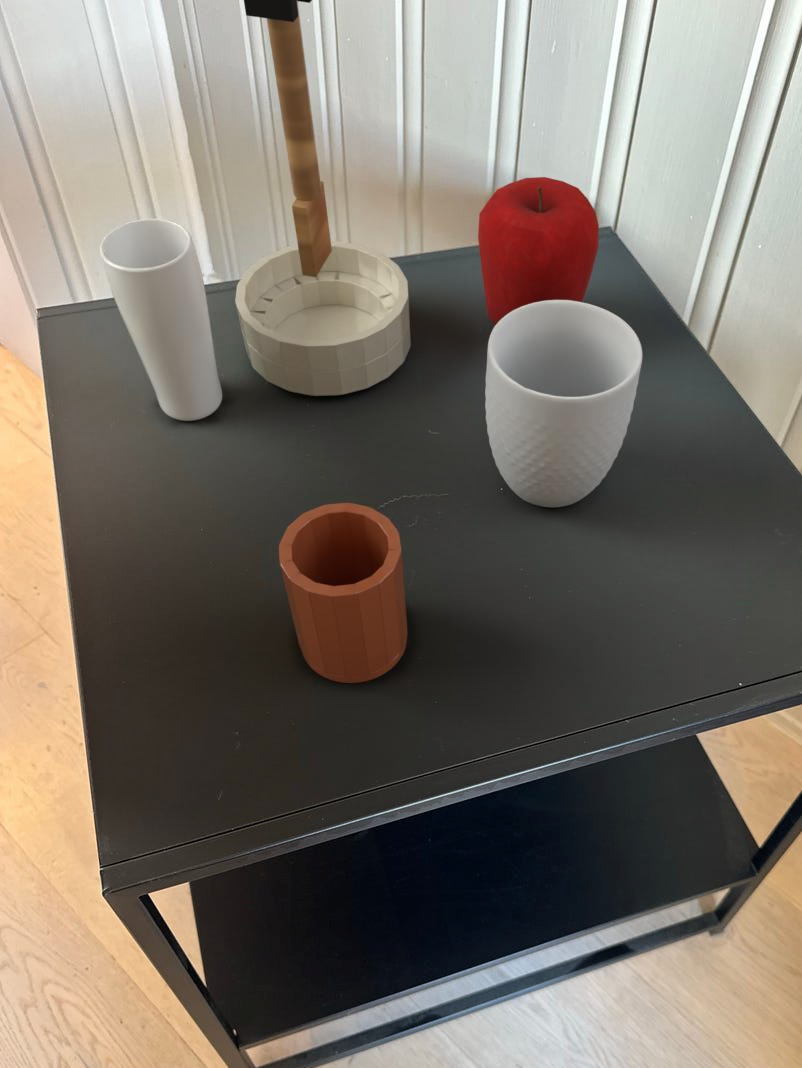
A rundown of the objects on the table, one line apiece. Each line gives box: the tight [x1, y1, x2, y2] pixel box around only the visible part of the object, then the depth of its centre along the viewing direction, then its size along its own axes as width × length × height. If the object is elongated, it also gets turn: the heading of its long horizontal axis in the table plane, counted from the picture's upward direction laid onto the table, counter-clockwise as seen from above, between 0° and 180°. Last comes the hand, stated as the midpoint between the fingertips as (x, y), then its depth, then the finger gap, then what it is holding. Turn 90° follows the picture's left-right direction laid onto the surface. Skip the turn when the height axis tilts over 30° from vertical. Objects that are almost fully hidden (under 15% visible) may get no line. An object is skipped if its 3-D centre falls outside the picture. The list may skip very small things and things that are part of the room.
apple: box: [477, 176, 600, 326], centre depth 83 cm, size 11×10×14 cm
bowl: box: [234, 240, 412, 397], centre depth 83 cm, size 15×15×6 cm
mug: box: [484, 300, 643, 508], centre depth 73 cm, size 15×11×13 cm
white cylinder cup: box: [99, 218, 223, 422], centre depth 75 cm, size 7×7×15 cm
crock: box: [278, 502, 409, 684], centre depth 64 cm, size 8×8×10 cm
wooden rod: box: [266, 0, 332, 277], centre depth 53 cm, size 3×2×27 cm, turn 165°
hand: (280, 5), depth 52 cm, fingers closed on wooden rod, 2 cm apart
